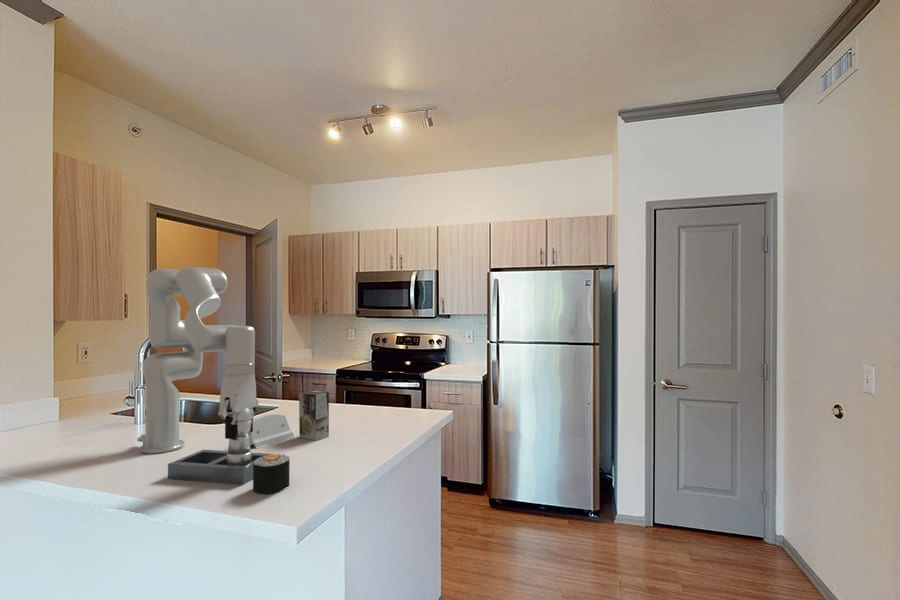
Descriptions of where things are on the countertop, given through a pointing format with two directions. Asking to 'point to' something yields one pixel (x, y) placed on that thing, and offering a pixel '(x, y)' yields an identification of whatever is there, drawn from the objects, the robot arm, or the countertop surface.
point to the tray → (211, 468)
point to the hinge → (269, 430)
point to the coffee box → (314, 414)
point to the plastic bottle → (241, 440)
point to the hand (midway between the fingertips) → (239, 434)
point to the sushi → (271, 473)
